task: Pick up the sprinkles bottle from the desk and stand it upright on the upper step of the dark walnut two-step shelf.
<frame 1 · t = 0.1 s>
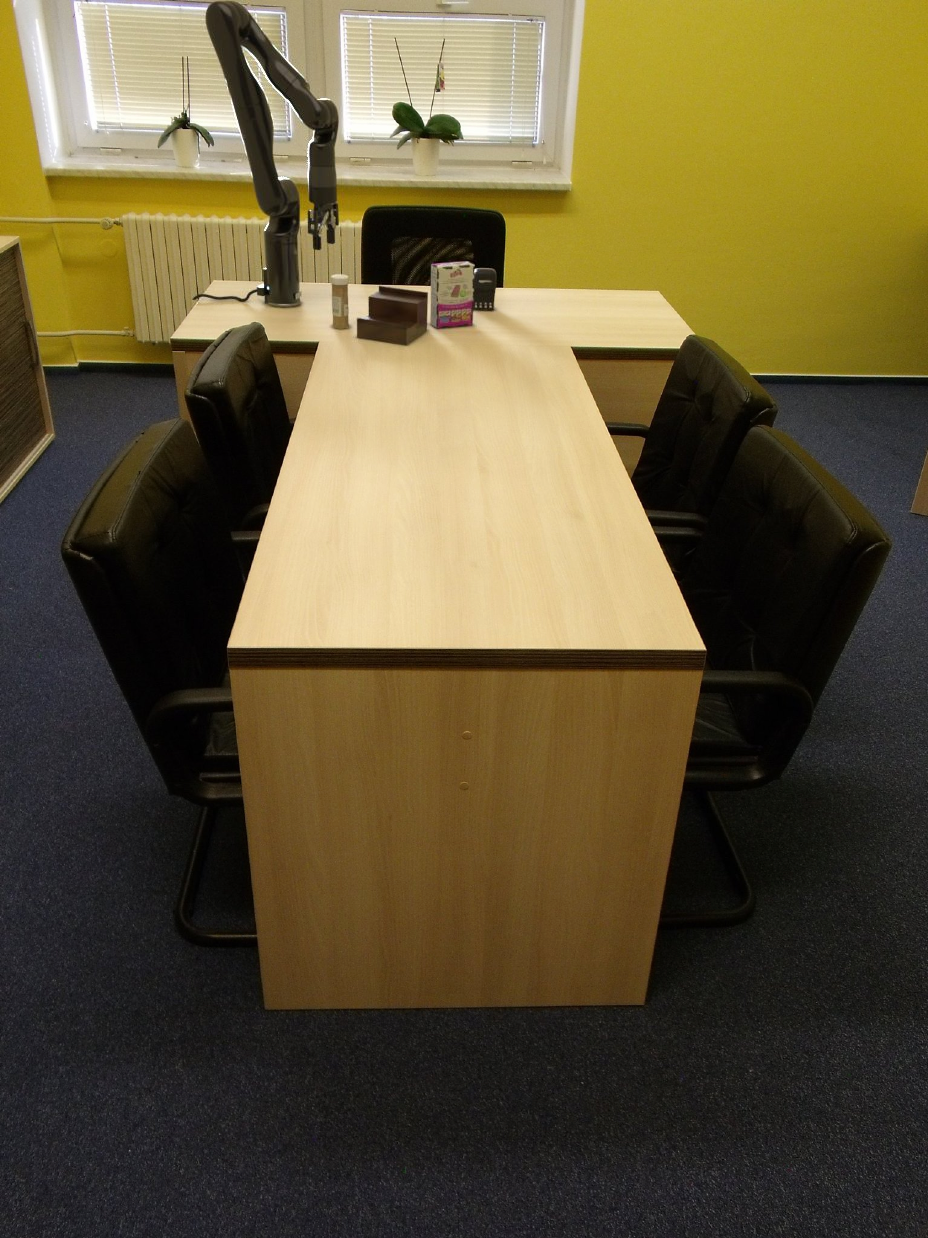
hand: (324, 246, 278), 17 cm above the table, tool pointing down, fingers open, 8 cm apart
shelf: (392, 333, 270), on the table
black boxy piece: (482, 310, 294), on the table
candy bar box: (450, 325, 280), on the table
sprinkles bottle: (340, 327, 274), on the table
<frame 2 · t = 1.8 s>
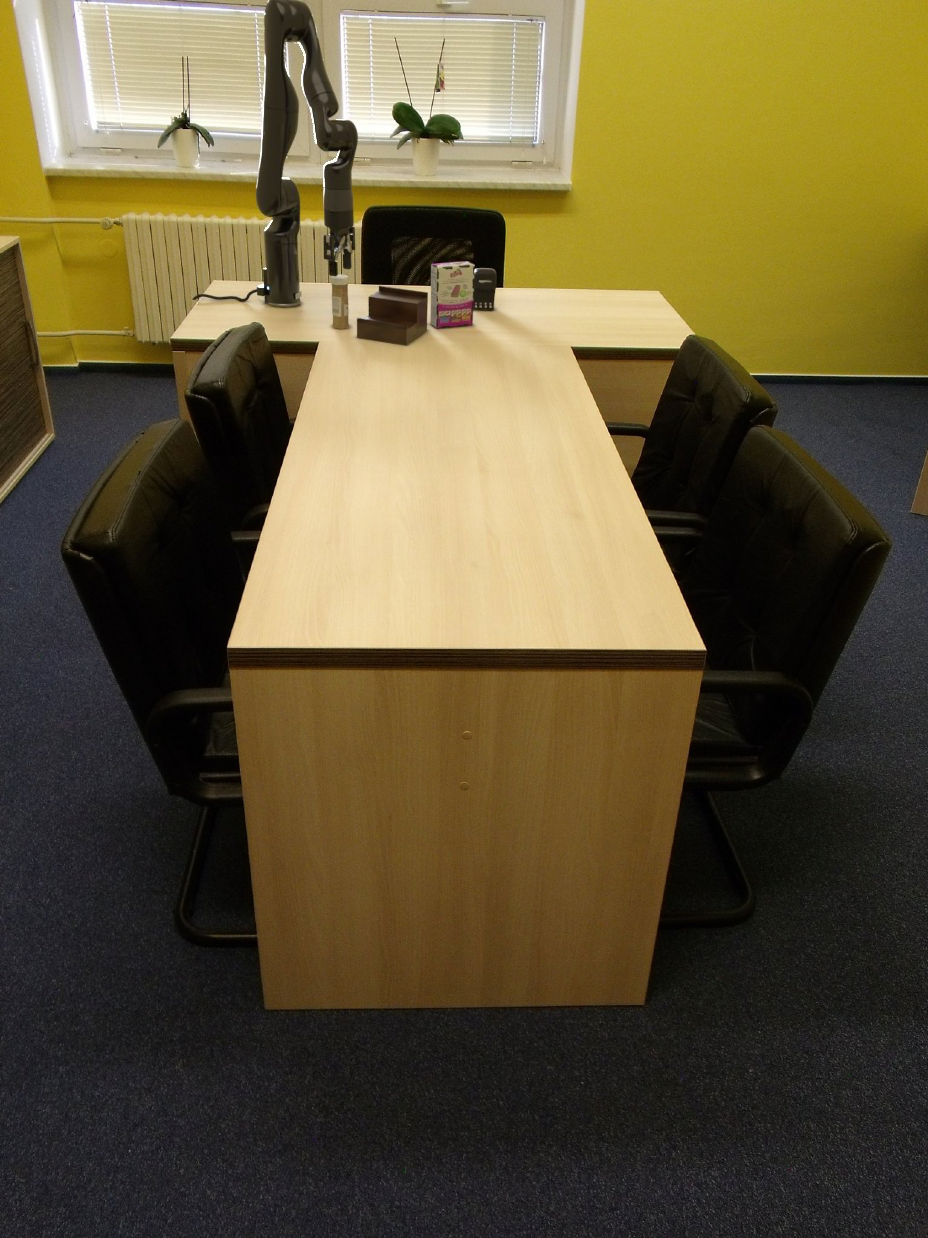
hand: (340, 272, 266), 14 cm above the table, tool pointing down, fingers open, 8 cm apart
nothing on the table moved.
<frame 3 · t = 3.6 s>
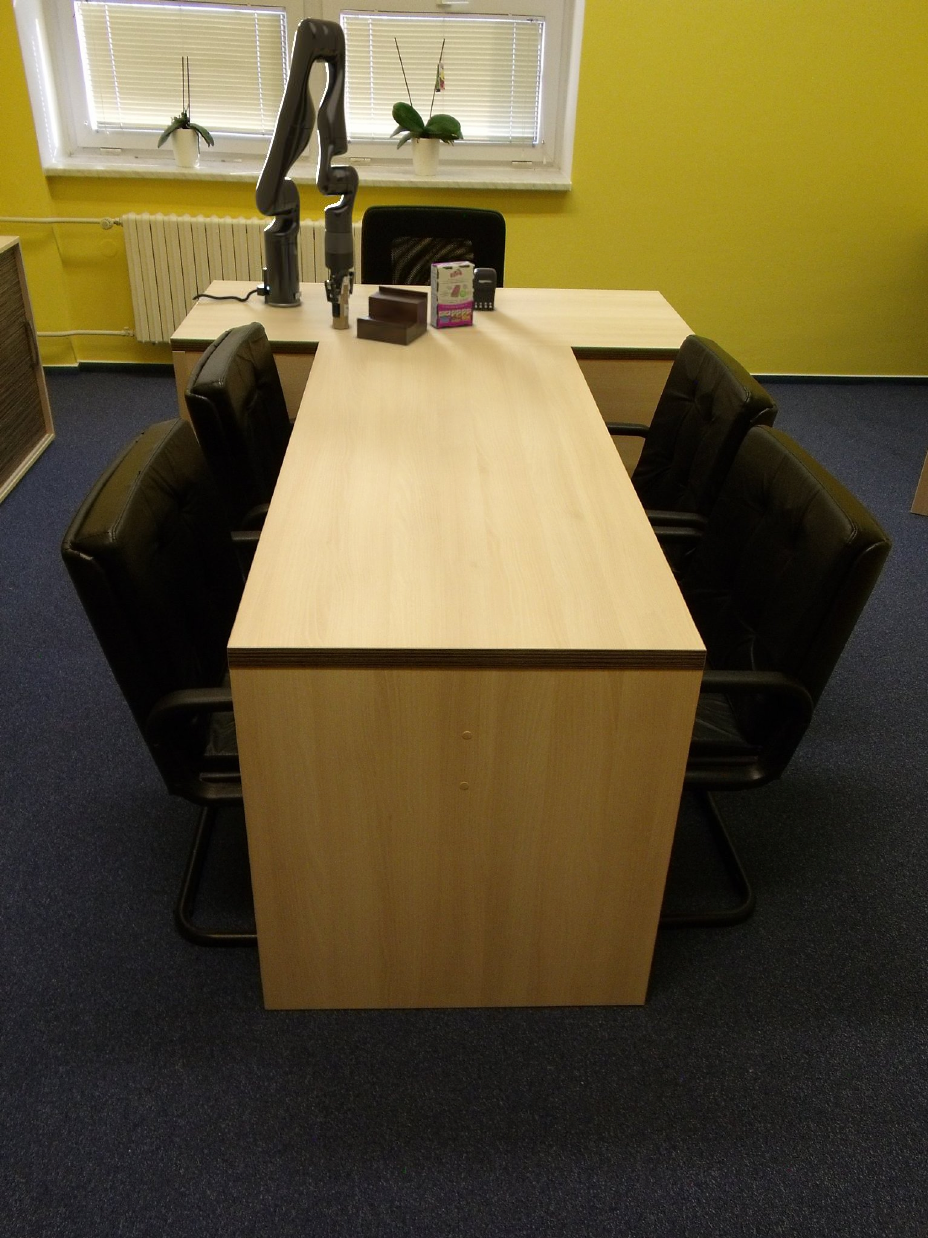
hand: (340, 314, 272), 3 cm above the table, tool pointing down, fingers closed on sprinkles bottle, 4 cm apart
sprinkles bottle: (340, 327, 274), on the table, touching gripper
everything else where it was.
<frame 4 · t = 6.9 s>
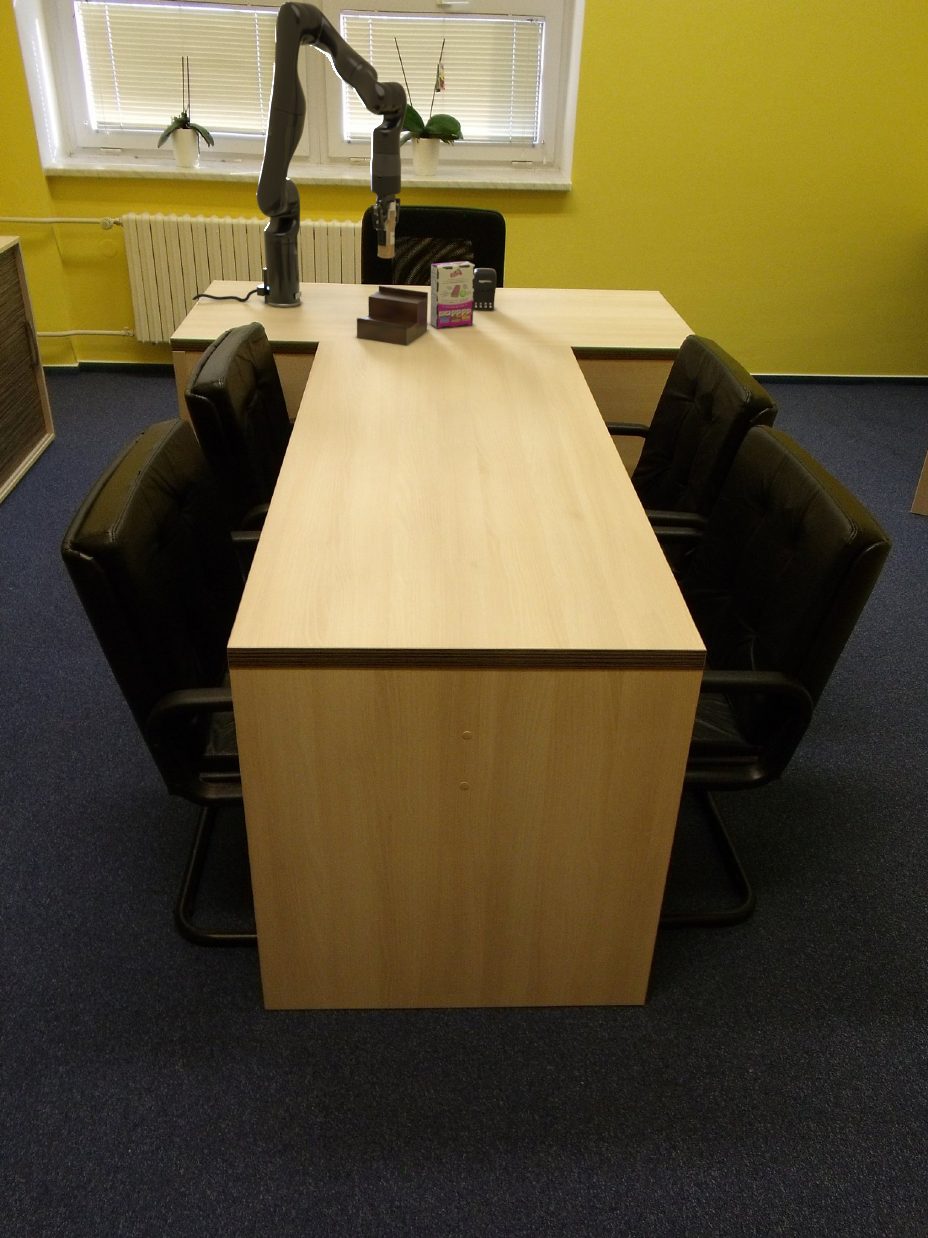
hand: (385, 243, 261), 22 cm above the table, tool pointing down, fingers closed on sprinkles bottle, 4 cm apart
sprinkles bottle: (386, 257, 263), point 19 cm above the table, touching gripper
everything else where it was.
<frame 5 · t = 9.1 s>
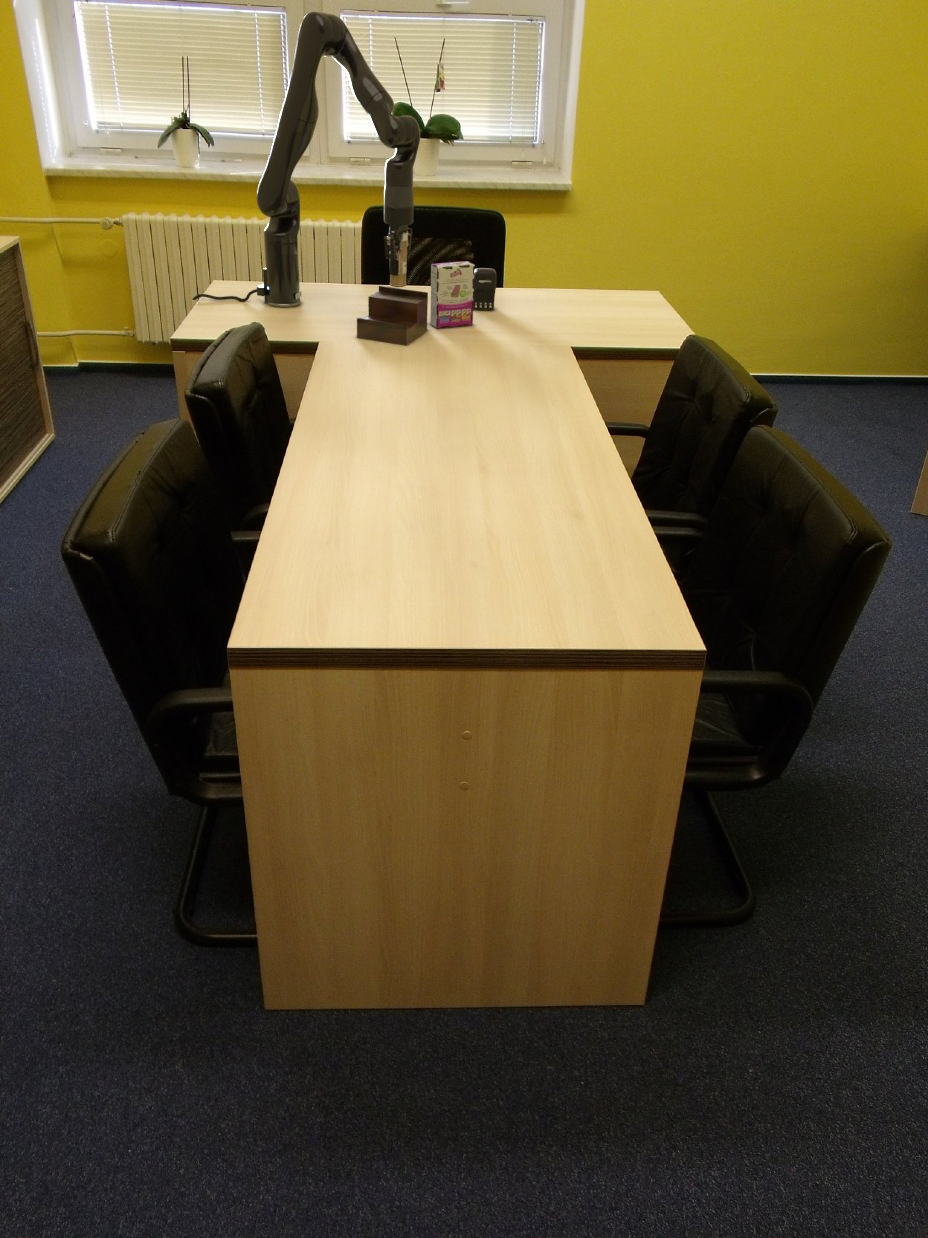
hand: (397, 272, 265), 15 cm above the table, tool pointing down, fingers closed on sprinkles bottle, 4 cm apart
sprinkles bottle: (397, 286, 267), point 12 cm above the table, touching gripper
everything else where it was.
when the fingers open (12 cm above the table, at t = 10.4 s): sprinkles bottle stays where it is, resting on shelf.
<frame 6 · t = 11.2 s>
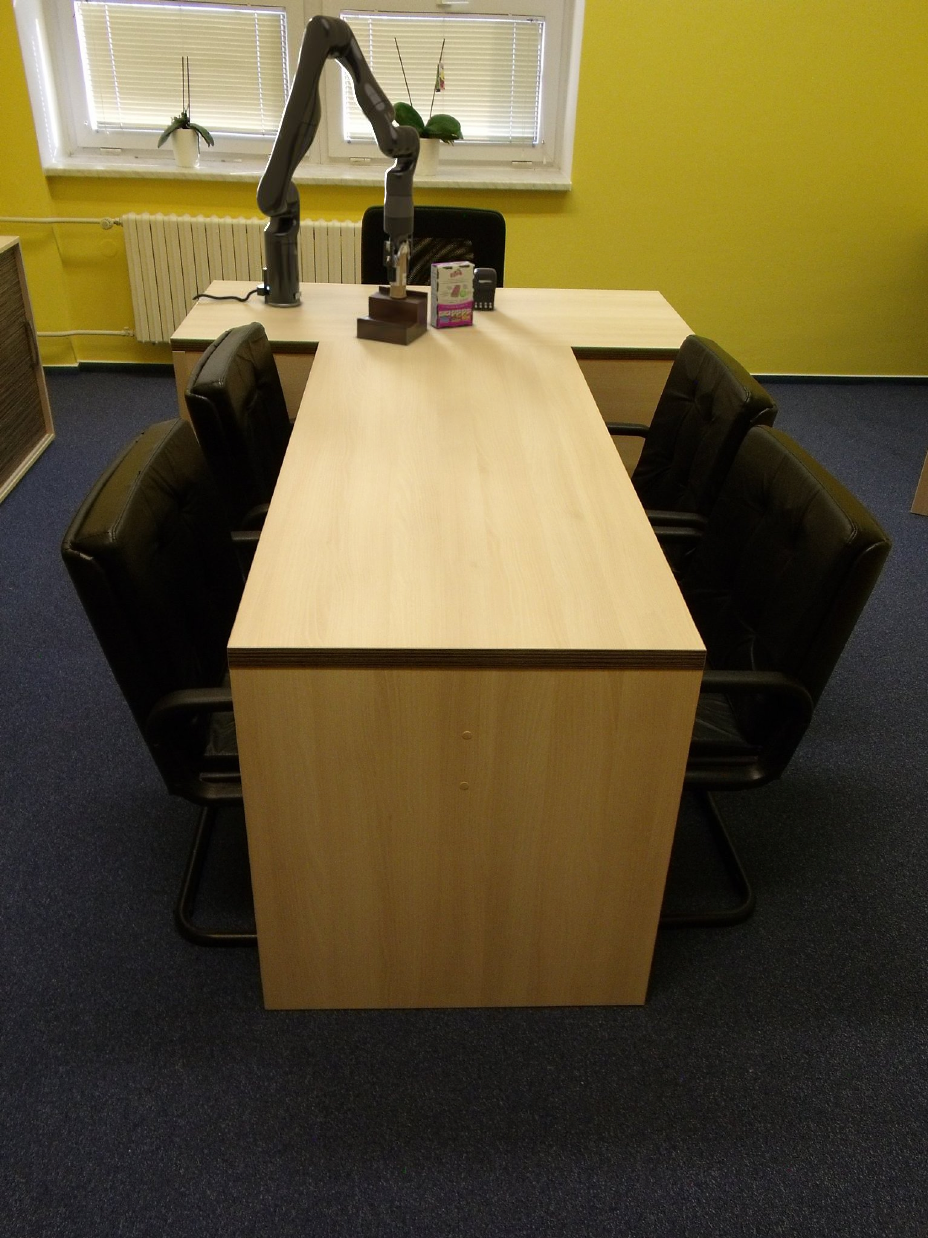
hand: (398, 278, 265), 14 cm above the table, tool pointing down, fingers open, 8 cm apart
sprinkles bottle: (397, 297, 268), point 9 cm above the table, touching shelf
everything else where it was.
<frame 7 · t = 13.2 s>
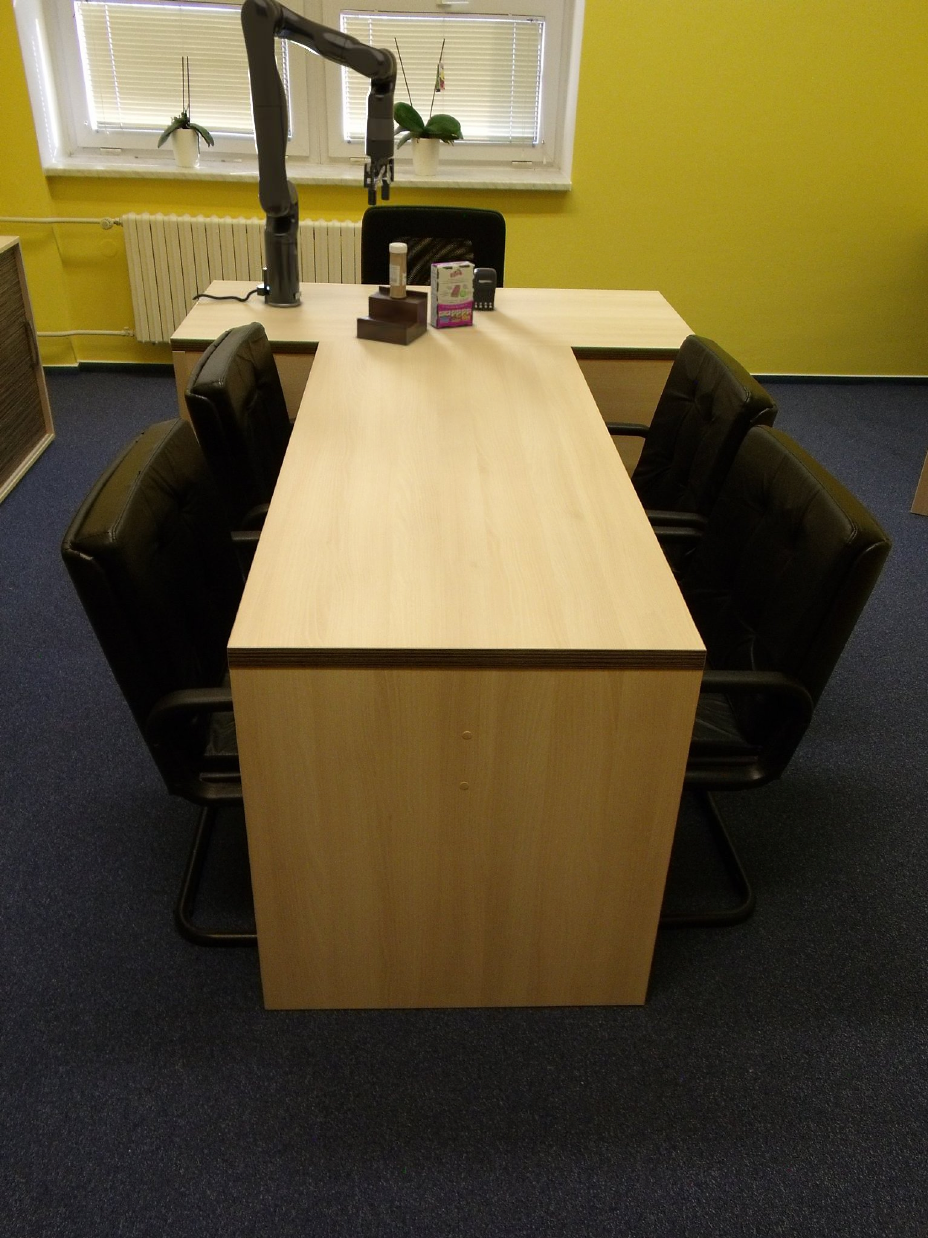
hand: (378, 202, 271), 29 cm above the table, tool pointing down, fingers open, 8 cm apart
nothing on the table moved.
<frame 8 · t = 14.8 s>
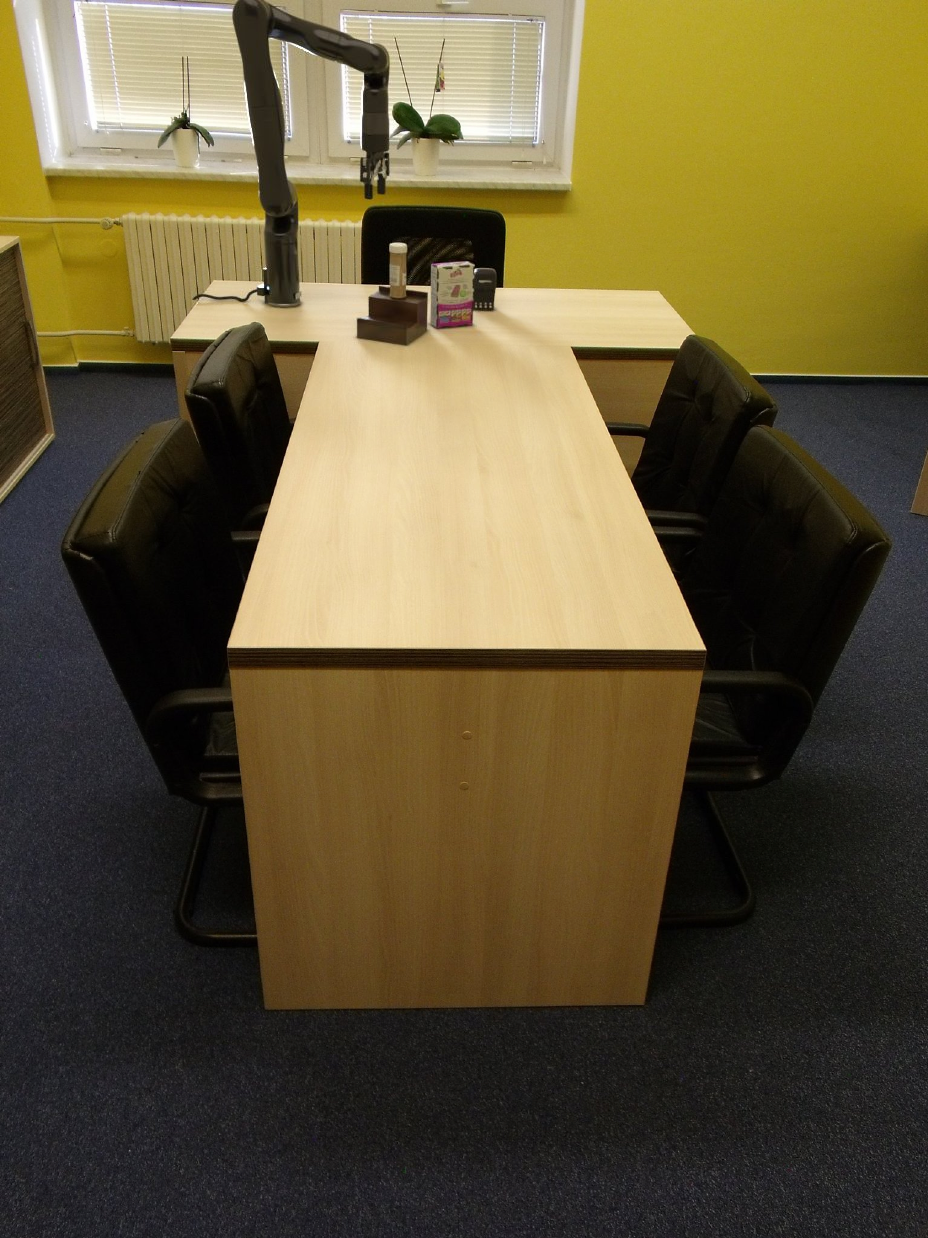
hand: (375, 196, 274), 30 cm above the table, tool pointing down, fingers open, 8 cm apart
nothing on the table moved.
at the end: sprinkles bottle inside the target area on the shelf (0.4 cm from its centre), point 8.8 cm above the shelf's base; sprinkles bottle tilted 0°; the gripper is holding nothing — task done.
